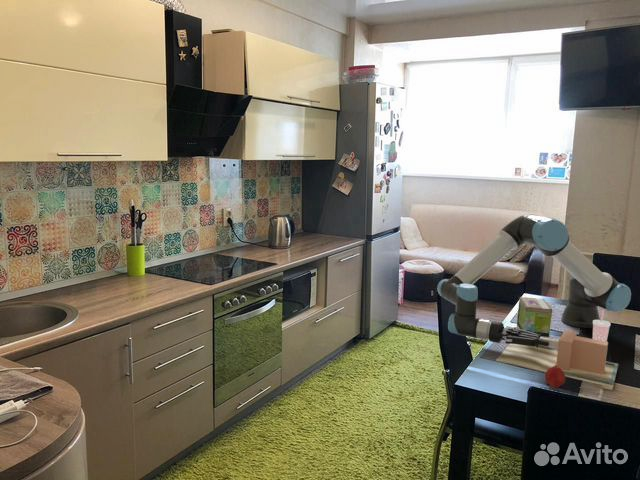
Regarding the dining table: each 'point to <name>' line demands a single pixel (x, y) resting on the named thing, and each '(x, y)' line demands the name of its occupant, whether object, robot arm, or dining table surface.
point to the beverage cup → (601, 329)
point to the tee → (581, 353)
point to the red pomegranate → (555, 377)
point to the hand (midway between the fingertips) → (559, 345)
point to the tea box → (534, 316)
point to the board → (548, 358)
